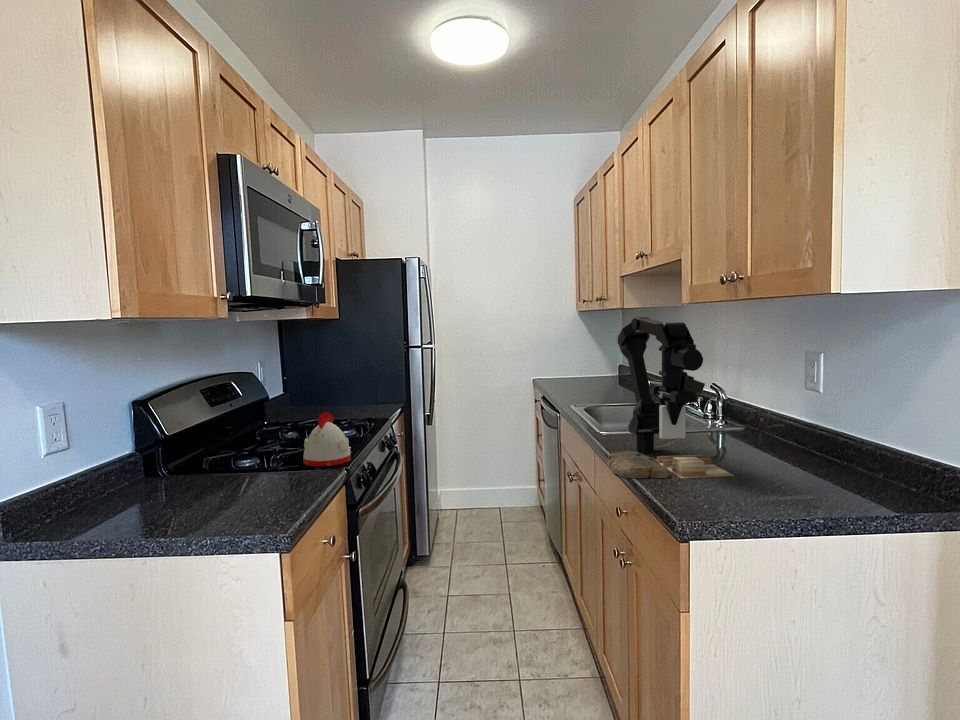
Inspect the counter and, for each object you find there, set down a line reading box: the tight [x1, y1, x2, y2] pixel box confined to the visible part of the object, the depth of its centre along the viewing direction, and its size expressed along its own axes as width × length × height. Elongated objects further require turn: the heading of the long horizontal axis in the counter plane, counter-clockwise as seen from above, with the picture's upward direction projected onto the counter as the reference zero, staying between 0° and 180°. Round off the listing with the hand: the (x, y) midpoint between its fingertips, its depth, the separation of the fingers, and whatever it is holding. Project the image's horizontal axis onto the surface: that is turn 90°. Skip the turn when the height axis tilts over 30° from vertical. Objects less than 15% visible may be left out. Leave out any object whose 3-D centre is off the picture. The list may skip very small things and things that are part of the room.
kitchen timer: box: [303, 411, 352, 467], centre depth 166 cm, size 14×14×15 cm
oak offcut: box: [672, 462, 705, 472], centre depth 142 cm, size 6×6×1 cm
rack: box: [655, 454, 735, 479], centre depth 147 cm, size 18×14×2 cm
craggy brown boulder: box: [606, 450, 671, 479], centre depth 148 cm, size 14×5×20 cm
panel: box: [658, 404, 687, 440], centre depth 151 cm, size 2×7×9 cm, turn 94°
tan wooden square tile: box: [672, 466, 706, 478], centre depth 142 cm, size 6×6×1 cm
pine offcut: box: [673, 457, 704, 467], centre depth 142 cm, size 5×6×1 cm
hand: (672, 424), depth 151 cm, fingers closed on panel, 2 cm apart
